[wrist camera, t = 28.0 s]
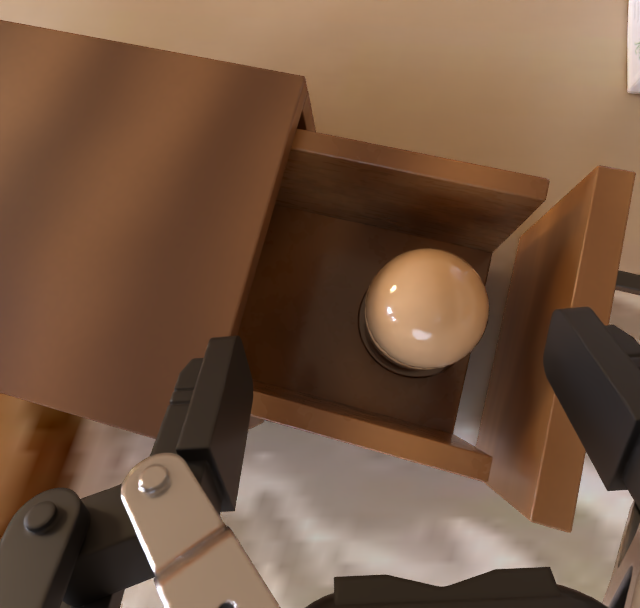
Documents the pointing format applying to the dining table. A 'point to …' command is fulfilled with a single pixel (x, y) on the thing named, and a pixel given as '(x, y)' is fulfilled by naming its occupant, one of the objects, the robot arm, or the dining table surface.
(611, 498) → the dining table surface
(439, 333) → the egg
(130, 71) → the cabinet
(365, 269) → the drawer
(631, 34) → the syrup box
